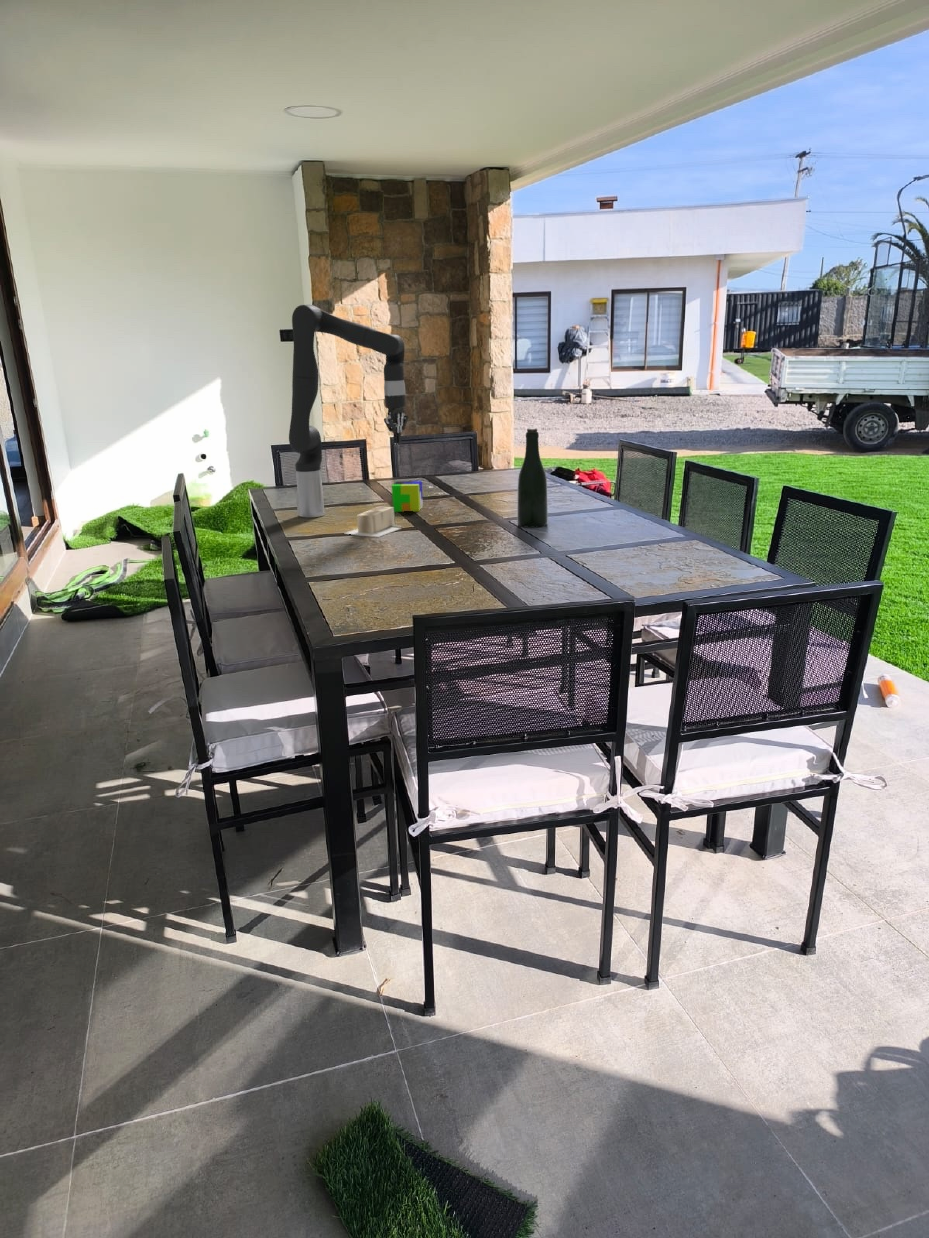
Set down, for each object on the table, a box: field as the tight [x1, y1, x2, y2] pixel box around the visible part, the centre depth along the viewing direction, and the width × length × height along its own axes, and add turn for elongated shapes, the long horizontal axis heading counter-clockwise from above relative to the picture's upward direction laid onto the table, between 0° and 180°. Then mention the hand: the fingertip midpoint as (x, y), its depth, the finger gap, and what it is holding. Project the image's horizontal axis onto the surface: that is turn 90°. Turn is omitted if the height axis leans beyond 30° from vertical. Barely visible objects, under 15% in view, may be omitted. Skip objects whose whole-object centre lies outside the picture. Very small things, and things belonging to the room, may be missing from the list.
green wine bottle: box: [516, 427, 548, 528], centre depth 286 cm, size 10×10×33 cm
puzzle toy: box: [391, 480, 424, 513], centre depth 324 cm, size 10×10×10 cm
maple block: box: [356, 505, 396, 534], centre depth 290 cm, size 6×6×14 cm
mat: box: [343, 524, 403, 538], centre depth 289 cm, size 14×15×1 cm
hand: (397, 443), depth 302 cm, fingers closed
